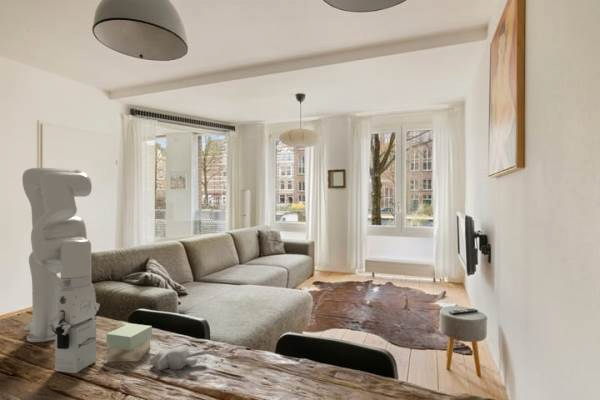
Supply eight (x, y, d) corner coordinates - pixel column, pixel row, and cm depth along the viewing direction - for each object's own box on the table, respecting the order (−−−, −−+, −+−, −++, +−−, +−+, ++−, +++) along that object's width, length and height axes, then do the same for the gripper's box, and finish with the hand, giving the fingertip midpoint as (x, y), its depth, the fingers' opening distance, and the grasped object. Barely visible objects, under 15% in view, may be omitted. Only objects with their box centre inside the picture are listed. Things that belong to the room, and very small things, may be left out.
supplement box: (76, 374, 93) (76, 328, 93) (54, 371, 95) (54, 326, 95) (97, 361, 101) (97, 319, 101) (76, 359, 102) (76, 317, 102)
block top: (106, 346, 102) (106, 333, 102) (129, 335, 111) (129, 323, 111) (130, 350, 100) (130, 337, 100) (151, 338, 108) (151, 326, 108)
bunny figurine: (161, 343, 104) (207, 341, 101) (163, 360, 104) (209, 358, 101) (142, 358, 94) (192, 355, 92) (144, 376, 94) (194, 374, 92)
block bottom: (107, 362, 100) (107, 349, 100) (122, 349, 109) (122, 337, 109) (138, 362, 101) (138, 348, 101) (150, 348, 110) (150, 336, 110)
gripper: (63, 289, 89) (64, 354, 88) (108, 275, 106) (109, 330, 105) (38, 289, 89) (38, 354, 89) (87, 275, 107) (87, 330, 106)
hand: (77, 341), depth 97 cm, fingers open, 9 cm apart
